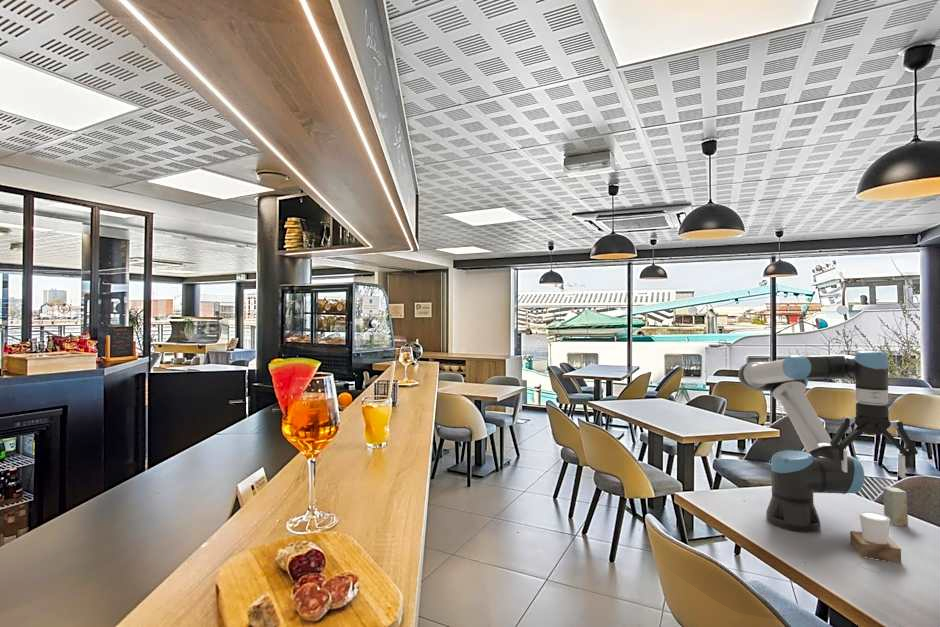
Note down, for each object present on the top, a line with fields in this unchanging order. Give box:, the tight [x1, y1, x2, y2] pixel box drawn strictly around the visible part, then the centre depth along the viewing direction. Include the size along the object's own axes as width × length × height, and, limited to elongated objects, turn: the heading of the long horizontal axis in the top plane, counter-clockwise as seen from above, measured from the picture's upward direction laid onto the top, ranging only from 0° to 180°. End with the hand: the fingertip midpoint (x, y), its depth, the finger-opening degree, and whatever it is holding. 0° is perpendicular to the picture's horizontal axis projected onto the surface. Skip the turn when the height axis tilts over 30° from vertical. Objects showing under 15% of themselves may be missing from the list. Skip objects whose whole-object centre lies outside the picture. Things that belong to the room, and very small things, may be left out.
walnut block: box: [849, 530, 902, 564], centre depth 140 cm, size 9×9×4 cm
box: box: [882, 486, 909, 527], centre depth 161 cm, size 5×4×11 cm
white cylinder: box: [859, 511, 891, 544], centre depth 140 cm, size 7×7×7 cm
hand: (872, 474), depth 144 cm, fingers open, 13 cm apart
